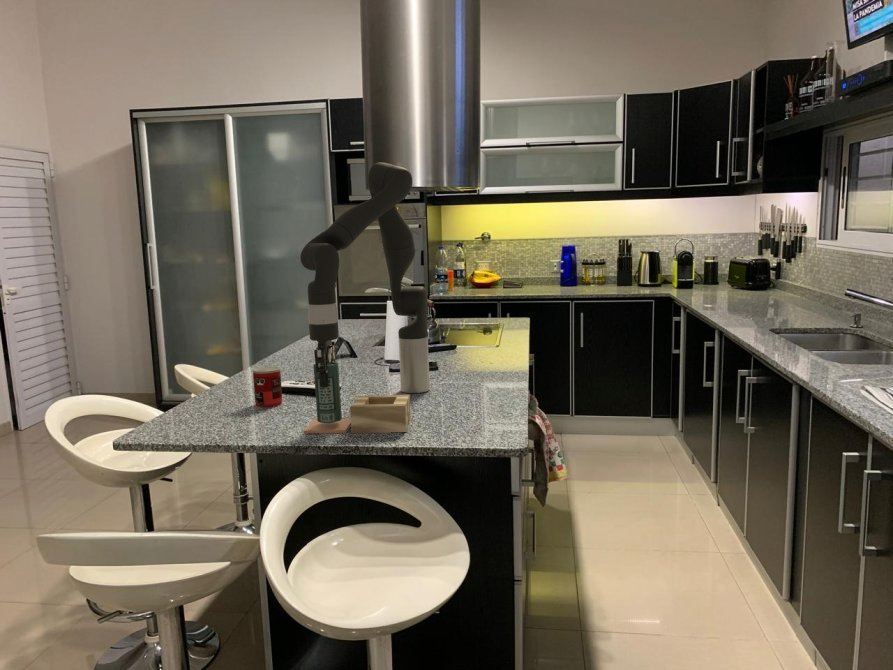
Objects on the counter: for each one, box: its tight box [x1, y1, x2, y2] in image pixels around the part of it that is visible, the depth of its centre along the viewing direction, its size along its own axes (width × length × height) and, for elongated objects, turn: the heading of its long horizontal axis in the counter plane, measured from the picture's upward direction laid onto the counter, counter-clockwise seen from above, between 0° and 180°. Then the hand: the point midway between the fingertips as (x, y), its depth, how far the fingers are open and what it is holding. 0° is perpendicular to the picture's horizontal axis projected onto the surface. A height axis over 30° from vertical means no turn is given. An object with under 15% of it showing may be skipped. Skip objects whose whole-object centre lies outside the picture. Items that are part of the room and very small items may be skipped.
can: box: [313, 361, 343, 423], centre depth 185 cm, size 6×6×15 cm
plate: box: [303, 418, 351, 434], centre depth 187 cm, size 11×11×1 cm
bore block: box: [349, 394, 412, 434], centre depth 185 cm, size 12×14×7 cm
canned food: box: [252, 366, 283, 408], centre depth 213 cm, size 8×8×11 cm
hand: (327, 384), depth 185 cm, fingers closed on can, 6 cm apart
